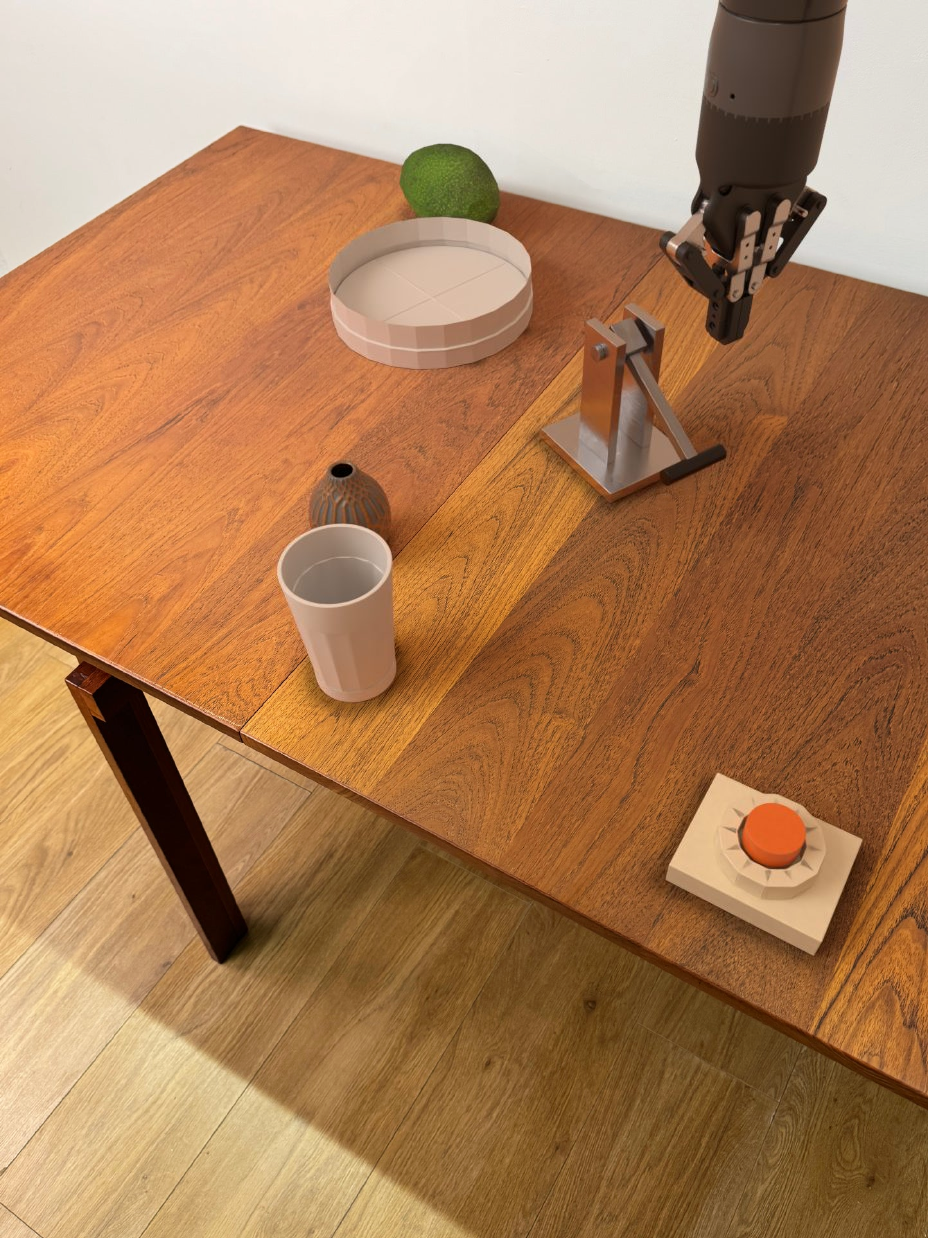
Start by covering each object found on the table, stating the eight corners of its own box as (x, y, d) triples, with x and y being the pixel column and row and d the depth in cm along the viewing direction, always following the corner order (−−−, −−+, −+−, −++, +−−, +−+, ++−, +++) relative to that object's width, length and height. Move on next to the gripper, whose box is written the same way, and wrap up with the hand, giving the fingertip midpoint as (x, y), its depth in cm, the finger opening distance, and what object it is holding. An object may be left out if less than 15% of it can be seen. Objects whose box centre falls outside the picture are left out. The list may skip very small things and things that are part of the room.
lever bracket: (689, 466, 92) (711, 337, 81) (609, 503, 89) (622, 375, 78) (616, 404, 98) (628, 277, 87) (540, 438, 95) (543, 310, 85)
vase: (364, 507, 90) (352, 430, 83) (411, 548, 86) (401, 471, 80) (300, 543, 87) (282, 467, 81) (345, 587, 84) (330, 511, 77)
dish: (294, 305, 112) (286, 264, 108) (449, 236, 120) (447, 196, 116) (412, 397, 100) (408, 354, 96) (575, 313, 108) (577, 271, 105)
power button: (808, 832, 63) (814, 819, 62) (788, 877, 61) (794, 864, 60) (754, 807, 65) (759, 793, 63) (732, 850, 63) (737, 837, 61)
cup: (426, 653, 79) (414, 546, 70) (369, 727, 74) (348, 623, 65) (343, 616, 82) (321, 509, 72) (284, 685, 77) (253, 580, 68)
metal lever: (718, 464, 85) (732, 453, 83) (662, 490, 83) (675, 480, 81) (638, 323, 86) (649, 309, 84) (581, 346, 85) (591, 332, 82)
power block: (854, 855, 66) (870, 825, 63) (813, 956, 62) (828, 930, 59) (712, 788, 70) (721, 757, 67) (665, 880, 66) (672, 851, 62)
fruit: (384, 213, 124) (375, 131, 117) (452, 190, 127) (448, 109, 120) (444, 266, 116) (439, 182, 108) (516, 240, 119) (516, 157, 111)
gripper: (723, 137, 55) (686, 394, 68) (896, 77, 59) (829, 331, 72) (640, 93, 60) (620, 343, 73) (806, 40, 64) (759, 285, 77)
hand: (724, 336), depth 72 cm, fingers closed
